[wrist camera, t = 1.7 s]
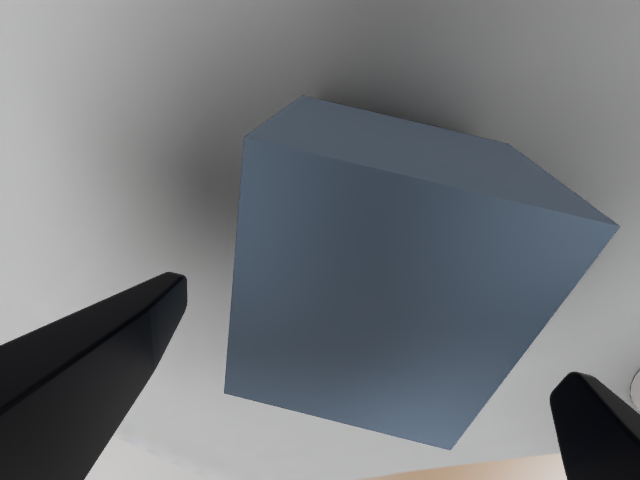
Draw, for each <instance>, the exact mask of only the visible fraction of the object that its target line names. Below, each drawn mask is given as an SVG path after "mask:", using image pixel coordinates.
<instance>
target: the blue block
mask: <svg viewBox="0 0 640 480" xmlns="http://www.w3.org/2000/svg"><path fill="white" fill-rule="evenodd" d="M619 227H620V226H619V225H617V224H616V223H615V222H613V221H612V220H611V219H609V218H608V217H607V216H605V215H604V214H603V213H601V212H600V211H599V210H597V209H596V208H594V207H593V206H592V205H590V204H589V203H588V202H586V201H585V200H584V199H582V198H581V197H580V196H578V195H577V194H576V193H574V192H573V191H572V190H570V189H569V188H567V187H566V186H565V185H563V184H562V183H561V182H559V181H558V180H557V179H555V178H554V177H553V176H551V175H550V174H549V173H547V172H546V171H544V170H543V169H542V168H540V167H539V166H538V165H536V164H535V163H534V162H532V161H531V160H530V159H528V158H527V157H526V156H524V155H523V154H521V153H520V152H519V151H517V150H516V149H515V148H513V147H512V146H511V145H509V144H507V143H503V142H499V141H495V140H490V139H486V138H482V137H478V136H473V135H469V134H465V133H461V132H456V131H452V130H448V129H443V128H439V127H435V126H431V125H426V124H422V123H418V122H414V121H409V120H405V119H401V118H397V117H392V116H388V115H384V114H380V113H375V112H371V111H367V110H362V109H358V108H354V107H350V106H345V105H341V104H337V103H333V102H328V101H324V100H320V99H316V98H311V97H307V96H303V95H302V96H301V97H300V98H298V99H297V100H295V101H294V102H293V103H291V104H290V105H288V106H287V107H286V108H284V109H283V110H281V111H280V112H279V113H277V114H276V115H274V116H273V117H272V118H270V119H269V120H267V121H266V122H265V123H263V124H262V125H260V126H259V127H258V128H256V129H255V130H253V131H252V132H251V133H249V134H248V135H246V136H245V137H244V145H243V158H242V171H241V183H240V196H239V209H238V222H237V234H236V247H235V260H234V273H233V286H232V298H231V311H230V324H229V337H228V349H227V362H226V375H225V388H224V393H225V394H229V395H233V396H237V397H241V398H245V399H249V400H253V401H257V402H261V403H265V404H269V405H273V406H277V407H281V408H285V409H289V410H293V411H297V412H301V413H305V414H309V415H312V416H316V417H320V418H324V419H328V420H332V421H336V422H340V423H344V424H348V425H352V426H356V427H360V428H364V429H368V430H372V431H376V432H380V433H384V434H388V435H392V436H396V437H400V438H404V439H408V440H412V441H416V442H419V443H423V444H427V445H431V446H435V447H439V448H443V449H447V450H451V449H452V448H453V446H454V445H455V444H456V443H457V441H458V440H459V439H460V437H461V436H462V435H463V433H464V432H465V431H466V429H467V428H468V427H469V425H470V424H471V423H472V421H473V420H474V419H475V417H476V416H477V415H478V413H479V412H480V411H481V410H482V408H483V407H484V406H485V404H486V403H487V402H488V400H489V399H490V398H491V396H492V395H493V394H494V392H495V391H496V390H497V388H498V387H499V386H500V384H501V383H502V382H503V381H504V379H505V378H506V377H507V375H508V374H509V373H510V371H511V370H512V369H513V367H514V366H515V365H516V363H517V362H518V361H519V359H520V358H521V357H522V355H523V354H524V353H525V351H526V350H527V349H528V348H529V346H530V345H531V344H532V342H533V341H534V340H535V338H536V337H537V336H538V334H539V333H540V332H541V330H542V329H543V328H544V326H545V325H546V324H547V322H548V321H549V320H550V318H551V317H552V316H553V315H554V313H555V312H556V311H557V309H558V308H559V307H560V305H561V304H562V303H563V301H564V300H565V299H566V297H567V296H568V295H569V293H570V292H571V291H572V289H573V288H574V287H575V285H576V284H577V283H578V282H579V280H580V279H581V278H582V276H583V275H584V274H585V272H586V271H587V270H588V268H589V267H590V266H591V264H592V263H593V262H594V260H595V259H596V258H597V256H598V255H599V254H600V253H601V251H602V250H603V249H604V247H605V246H606V245H607V243H608V242H609V241H610V239H611V238H612V237H613V235H614V234H615V233H616V231H617V230H618V229H619Z"/></svg>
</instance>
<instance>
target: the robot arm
mask: <svg viewBox="0 0 640 480" xmlns="http://www.w3.org/2000/svg"><path fill="white" fill-rule="evenodd" d="M186 306H187V279H186V277H185V276H184V275H181V274H177V273H173V272H166V273H163V274H161V275H159V276H156V277H154V278H152V279H150V280H147V281H145V282H143V283H141V284H138V285H136V286H134V287H132V288H129V289H127V290H125V291H123V292H120V293H118V294H116V295H113V296H111V297H109V298H107V299H104V300H102V301H100V302H98V303H95V304H93V305H91V306H89V307H86V308H84V309H82V310H80V311H77V312H75V313H73V314H71V315H68V316H66V317H64V318H61V319H59V320H57V321H55V322H52V323H50V324H48V325H46V326H43V327H41V328H39V329H37V330H34V331H32V332H30V333H28V334H25V335H23V336H21V337H18V338H16V339H14V340H12V341H9V342H7V343H5V344H3V345H0V480H84V479H85V477H86V476H87V474H88V473H89V471H90V470H91V468H92V467H93V465H94V463H95V462H96V460H97V459H98V457H99V456H100V454H101V453H102V451H103V450H104V448H105V447H106V445H107V444H108V442H109V440H110V439H111V437H112V436H113V434H114V433H115V431H116V430H117V428H118V427H119V425H120V424H121V422H122V420H123V419H124V417H125V416H126V414H127V413H128V411H129V410H130V408H131V407H132V405H133V404H134V402H135V400H136V399H137V397H138V396H139V394H140V393H141V391H142V390H143V388H144V387H145V385H146V384H147V382H148V380H149V379H150V377H151V376H152V374H153V372H154V371H155V369H156V367H157V365H158V363H159V361H160V360H161V358H162V356H163V354H164V352H165V350H166V348H167V346H168V344H169V342H170V340H171V338H172V336H173V334H174V332H175V330H176V328H177V326H178V324H179V322H180V320H181V318H182V316H183V314H184V312H185V310H186ZM550 406H551V411H552V415H553V420H554V424H555V429H556V433H557V438H558V442H559V447H560V451H561V456H562V460H563V465H564V468H565V472H566V476H567V480H640V414H638V413H637V412H636V411H635V410H634V409H632V408H631V407H630V406H629V405H628V404H626V403H625V402H624V401H623V400H622V399H620V398H619V397H618V396H617V395H616V394H614V393H613V392H612V391H611V390H610V389H608V388H607V387H606V386H605V385H604V384H602V383H601V382H600V381H599V380H598V379H596V378H595V377H593V376H591V375H587V374H583V373H579V372H571V373H569V374H568V375H567V376H566V377H565V378H564V379H563V380H562V381H561V382H560V383H559V384H558V386H557V387H556V388H555V389H554V390H553V391H552V393H551V395H550Z"/></svg>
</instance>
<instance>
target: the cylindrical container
mask: <svg viewBox="0 0 640 480" xmlns="http://www.w3.org/2000/svg"><path fill="white" fill-rule="evenodd" d="M630 395H631V398H632V401H633V403H634V405H635V406H636V407H637V409H638V410H639V411H640V371H639V372H638V373H637V374H636V376H635V378H634V380H633V382H632V384H631V392H630Z"/></svg>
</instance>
